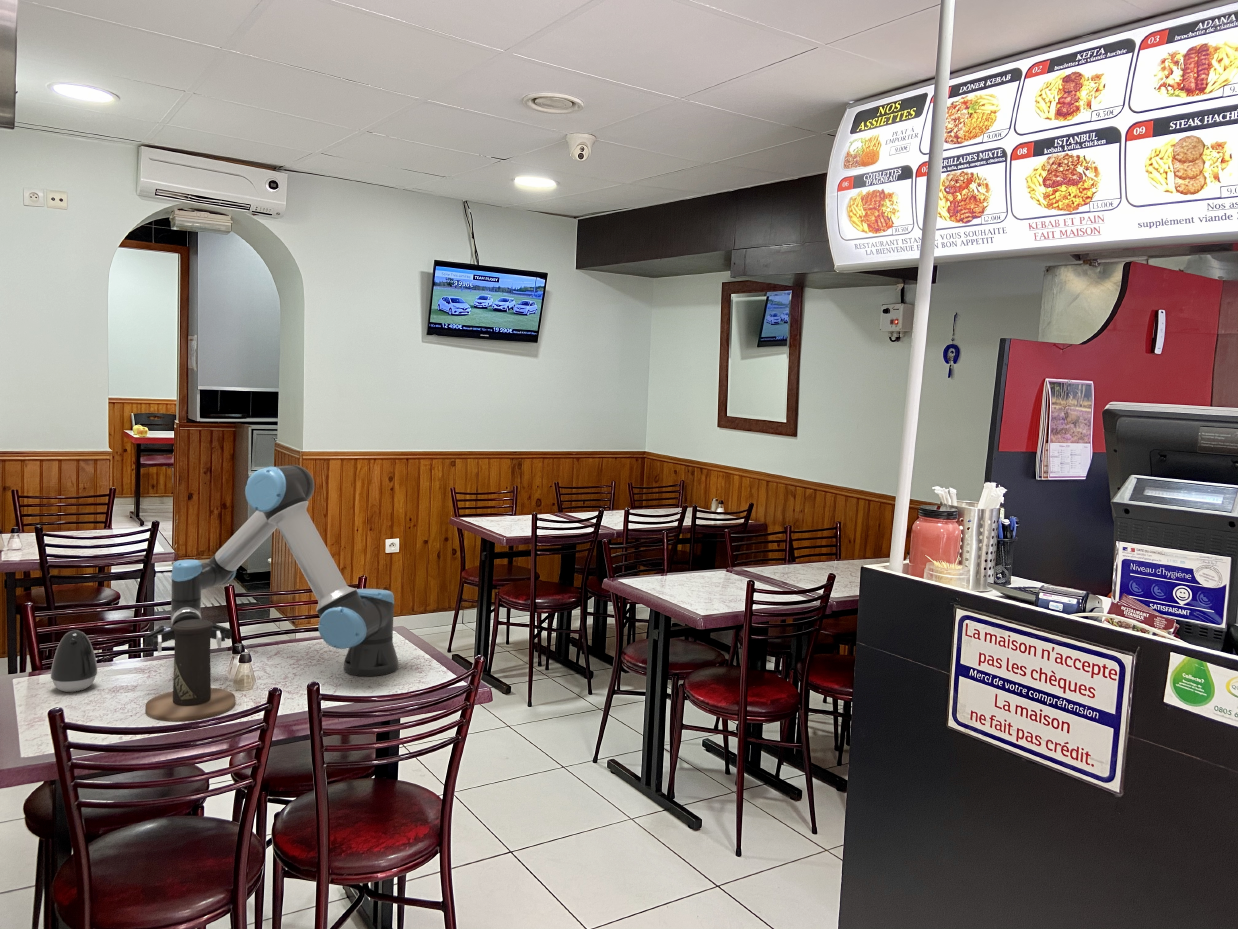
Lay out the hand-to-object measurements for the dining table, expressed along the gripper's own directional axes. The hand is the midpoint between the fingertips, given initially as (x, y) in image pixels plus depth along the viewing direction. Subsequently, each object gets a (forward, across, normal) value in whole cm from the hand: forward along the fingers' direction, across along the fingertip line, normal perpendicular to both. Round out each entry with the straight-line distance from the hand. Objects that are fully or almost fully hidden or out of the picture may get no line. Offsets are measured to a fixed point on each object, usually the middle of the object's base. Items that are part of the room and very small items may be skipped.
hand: (190, 644), depth 223 cm
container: (+6, 0, -13) cm, 14 cm away
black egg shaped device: (-17, +26, -14) cm, 34 cm away
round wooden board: (+7, 0, -14) cm, 15 cm away
